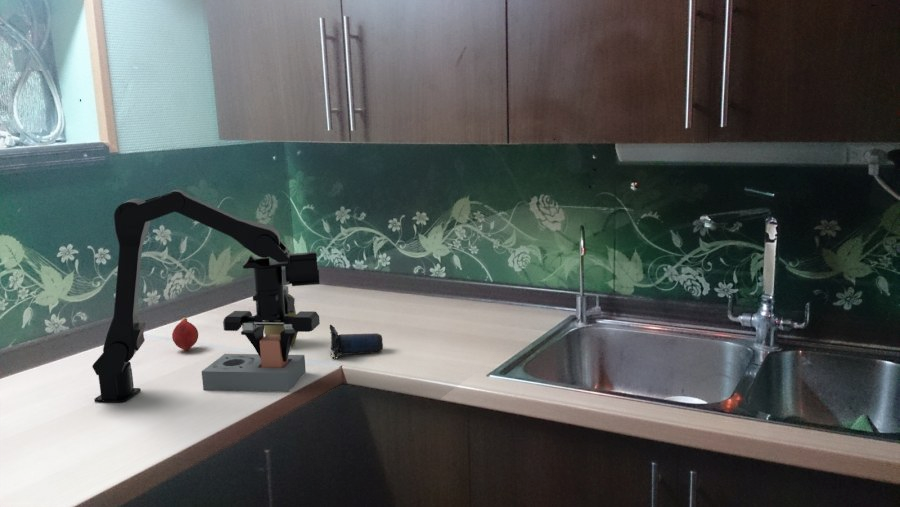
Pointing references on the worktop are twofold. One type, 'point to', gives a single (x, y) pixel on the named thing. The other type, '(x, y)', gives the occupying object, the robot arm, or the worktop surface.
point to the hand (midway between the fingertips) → (274, 360)
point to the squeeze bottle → (278, 328)
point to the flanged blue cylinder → (355, 343)
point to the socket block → (252, 374)
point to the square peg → (271, 352)
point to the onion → (185, 335)
